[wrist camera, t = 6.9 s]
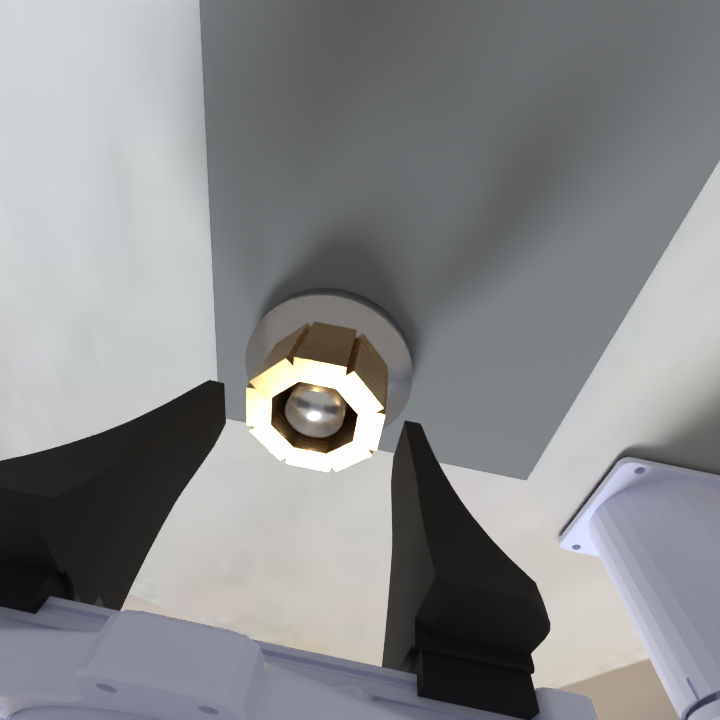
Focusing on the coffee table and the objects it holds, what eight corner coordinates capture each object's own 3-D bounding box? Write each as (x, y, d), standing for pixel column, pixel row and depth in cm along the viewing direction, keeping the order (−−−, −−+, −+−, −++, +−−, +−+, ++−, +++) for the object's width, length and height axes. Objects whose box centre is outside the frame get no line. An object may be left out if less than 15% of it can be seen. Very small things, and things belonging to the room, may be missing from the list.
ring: (396, 337, 15) (394, 376, 12) (374, 430, 18) (369, 480, 15) (274, 313, 15) (246, 347, 12) (271, 410, 18) (246, 455, 15)
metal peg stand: (431, 307, 16) (438, 349, 12) (392, 439, 20) (390, 498, 16) (255, 272, 16) (213, 303, 12) (253, 410, 20) (221, 463, 16)
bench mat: (799, 9, 10) (813, 4, 10) (524, 474, 20) (526, 480, 20) (201, -103, 10) (194, -113, 10) (222, 412, 20) (219, 417, 20)
